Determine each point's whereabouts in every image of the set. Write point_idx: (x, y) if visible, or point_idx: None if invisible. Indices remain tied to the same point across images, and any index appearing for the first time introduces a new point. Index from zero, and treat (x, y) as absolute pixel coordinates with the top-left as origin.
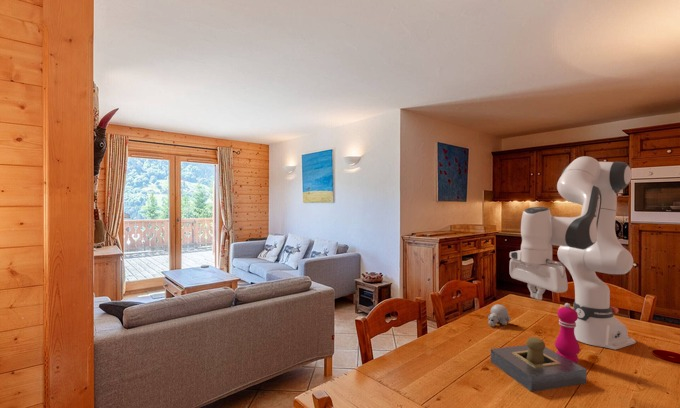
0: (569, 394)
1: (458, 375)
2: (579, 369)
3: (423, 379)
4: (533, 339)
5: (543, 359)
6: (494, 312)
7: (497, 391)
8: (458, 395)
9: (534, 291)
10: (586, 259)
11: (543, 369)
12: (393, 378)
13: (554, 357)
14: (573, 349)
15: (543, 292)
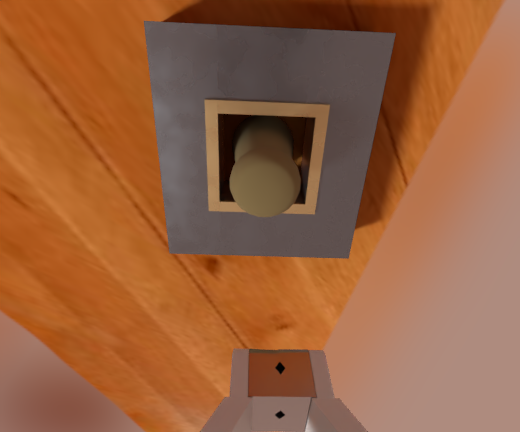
0: (388, 150)
1: (228, 331)
2: (384, 67)
3: (226, 387)
4: (266, 205)
5: (289, 151)
6: None
7: (308, 297)
8: None
9: (247, 421)
10: None
11: (332, 196)
12: None
13: (278, 78)
14: None
15: (360, 425)
